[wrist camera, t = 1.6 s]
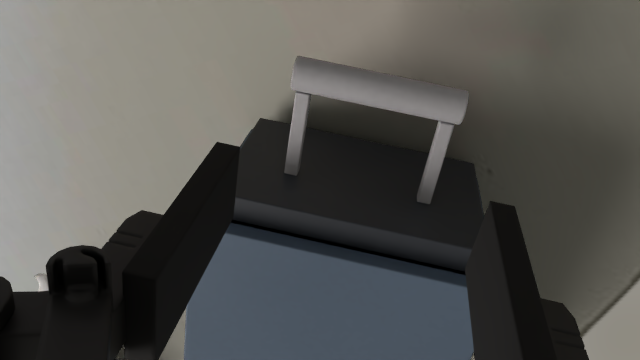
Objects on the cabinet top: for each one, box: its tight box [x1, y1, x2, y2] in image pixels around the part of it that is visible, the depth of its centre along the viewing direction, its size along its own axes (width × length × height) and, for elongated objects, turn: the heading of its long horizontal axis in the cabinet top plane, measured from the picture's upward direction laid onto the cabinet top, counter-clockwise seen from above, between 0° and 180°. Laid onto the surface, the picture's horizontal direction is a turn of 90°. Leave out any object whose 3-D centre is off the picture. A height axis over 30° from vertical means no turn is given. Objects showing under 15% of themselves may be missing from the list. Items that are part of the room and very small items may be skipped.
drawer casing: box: [184, 129, 484, 360], centre depth 30 cm, size 15×13×10 cm
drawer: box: [232, 56, 484, 272], centre depth 28 cm, size 19×11×8 cm, turn 171°
